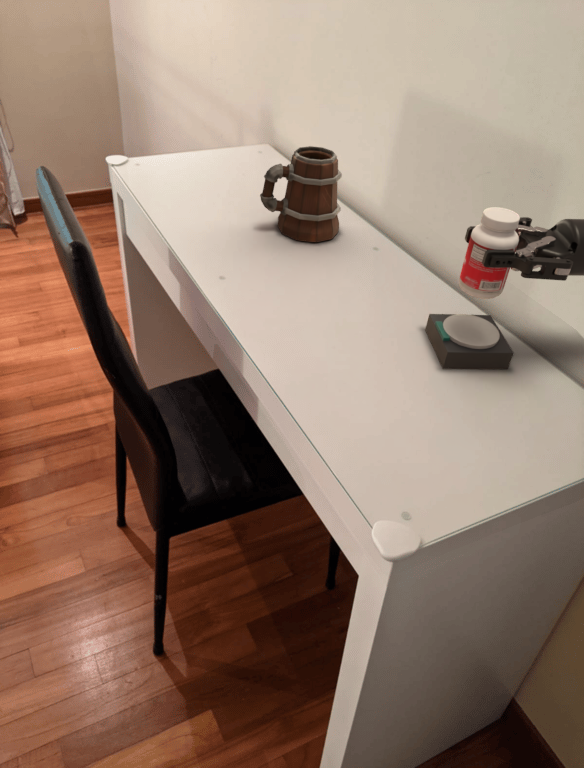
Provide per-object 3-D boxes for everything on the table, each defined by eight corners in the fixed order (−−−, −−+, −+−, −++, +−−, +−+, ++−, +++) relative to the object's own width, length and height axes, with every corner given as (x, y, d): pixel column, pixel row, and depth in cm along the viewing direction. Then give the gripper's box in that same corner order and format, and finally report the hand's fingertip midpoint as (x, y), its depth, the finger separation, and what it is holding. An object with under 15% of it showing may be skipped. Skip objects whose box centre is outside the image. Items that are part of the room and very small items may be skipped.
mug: (326, 215, 127) (336, 142, 117) (344, 242, 118) (356, 165, 108) (252, 217, 123) (256, 141, 114) (265, 245, 114) (269, 165, 105)
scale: (485, 330, 98) (491, 311, 95) (507, 369, 90) (515, 349, 88) (425, 329, 97) (430, 310, 94) (442, 368, 89) (448, 348, 87)
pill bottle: (473, 273, 89) (494, 200, 82) (510, 291, 86) (535, 216, 79) (448, 286, 85) (468, 211, 79) (485, 305, 82) (509, 228, 75)
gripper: (576, 200, 87) (464, 197, 84) (631, 247, 76) (504, 245, 73) (558, 248, 91) (451, 247, 89) (607, 299, 80) (487, 299, 78)
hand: (475, 246), depth 81 cm, fingers closed on pill bottle, 6 cm apart
